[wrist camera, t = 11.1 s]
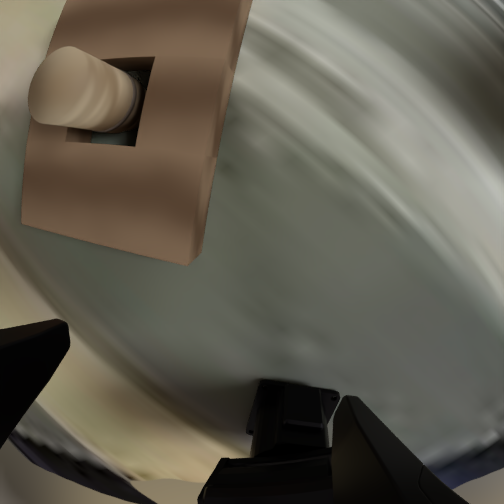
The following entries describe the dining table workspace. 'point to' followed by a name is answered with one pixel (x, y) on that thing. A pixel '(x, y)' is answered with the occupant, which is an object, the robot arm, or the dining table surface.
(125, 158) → the board
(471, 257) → the dining table surface
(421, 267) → the dining table surface
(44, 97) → the peg
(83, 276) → the dining table surface
